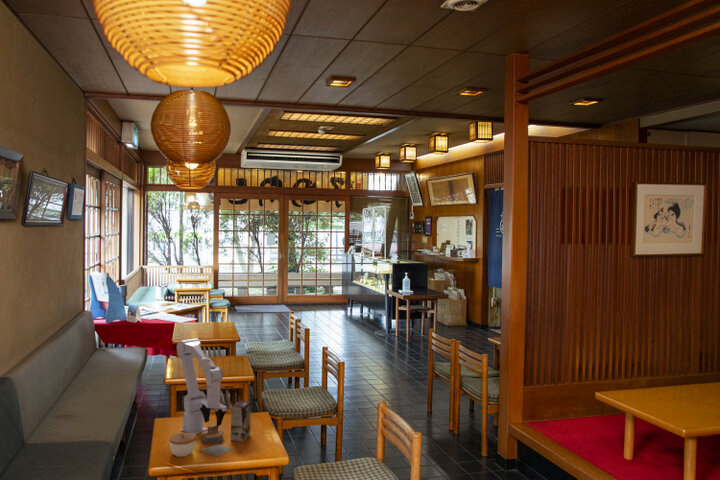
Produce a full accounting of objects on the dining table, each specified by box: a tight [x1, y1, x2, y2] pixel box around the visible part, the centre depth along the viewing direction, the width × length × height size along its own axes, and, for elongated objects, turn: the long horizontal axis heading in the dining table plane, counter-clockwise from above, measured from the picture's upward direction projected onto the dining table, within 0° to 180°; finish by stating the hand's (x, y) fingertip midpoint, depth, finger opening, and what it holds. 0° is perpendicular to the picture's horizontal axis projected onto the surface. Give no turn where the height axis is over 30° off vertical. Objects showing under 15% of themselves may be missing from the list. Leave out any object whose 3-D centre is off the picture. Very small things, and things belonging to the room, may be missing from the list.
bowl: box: [201, 434, 224, 444], centre depth 255 cm, size 9×10×3 cm
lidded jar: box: [169, 432, 197, 458], centre depth 238 cm, size 11×11×9 cm
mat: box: [199, 443, 234, 458], centre depth 243 cm, size 10×10×1 cm
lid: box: [201, 423, 225, 438], centre depth 255 cm, size 10×10×4 cm
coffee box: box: [230, 400, 252, 442], centre depth 258 cm, size 9×6×16 cm
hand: (212, 423), depth 255 cm, fingers open, 7 cm apart
